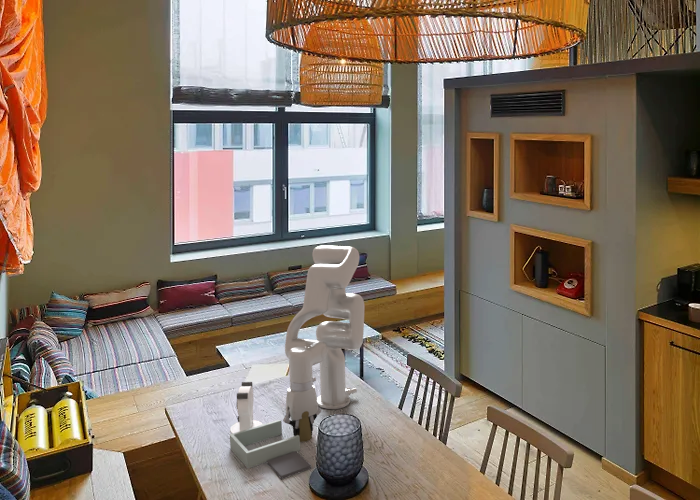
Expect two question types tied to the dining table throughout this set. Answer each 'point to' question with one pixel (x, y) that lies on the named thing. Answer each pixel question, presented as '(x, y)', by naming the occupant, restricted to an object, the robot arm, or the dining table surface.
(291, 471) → the charcoal mat
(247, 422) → the white upright piece
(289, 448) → the box
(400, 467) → the dining table surface
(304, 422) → the cork
